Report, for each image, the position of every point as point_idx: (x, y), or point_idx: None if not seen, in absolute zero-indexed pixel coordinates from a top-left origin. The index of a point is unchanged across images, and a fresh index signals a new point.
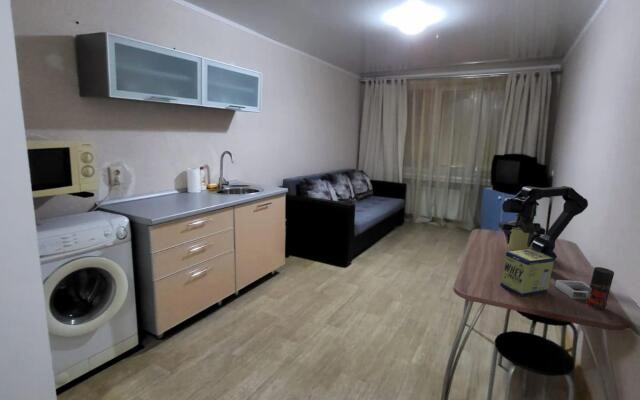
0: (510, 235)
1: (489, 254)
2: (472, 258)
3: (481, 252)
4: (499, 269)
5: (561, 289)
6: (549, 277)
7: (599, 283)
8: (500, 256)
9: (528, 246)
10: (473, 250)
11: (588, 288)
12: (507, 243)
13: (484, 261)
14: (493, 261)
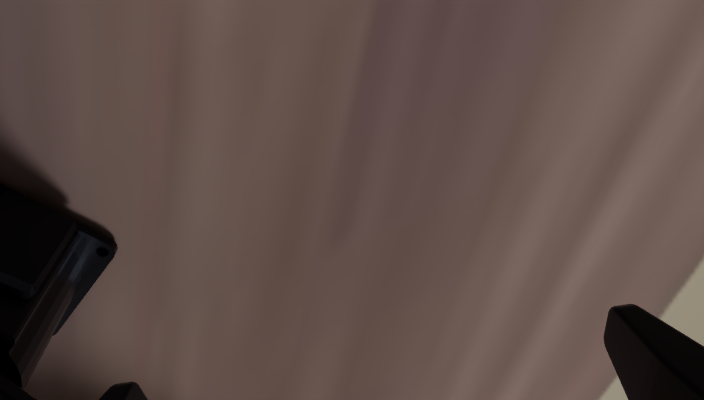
0: None
1: (468, 375)
2: (685, 222)
3: (524, 386)
4: (512, 14)
5: None
6: None
7: None
8: (381, 375)
9: (122, 389)
10: (578, 396)
11: None
12: (646, 320)
13: (592, 195)
14: (492, 235)
